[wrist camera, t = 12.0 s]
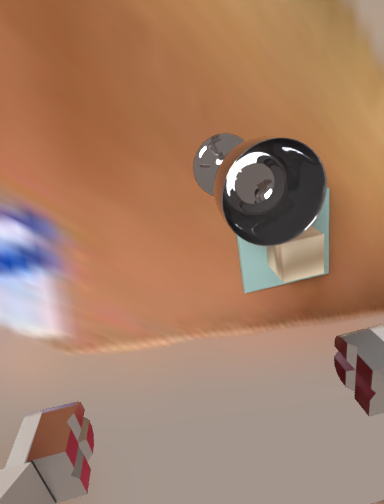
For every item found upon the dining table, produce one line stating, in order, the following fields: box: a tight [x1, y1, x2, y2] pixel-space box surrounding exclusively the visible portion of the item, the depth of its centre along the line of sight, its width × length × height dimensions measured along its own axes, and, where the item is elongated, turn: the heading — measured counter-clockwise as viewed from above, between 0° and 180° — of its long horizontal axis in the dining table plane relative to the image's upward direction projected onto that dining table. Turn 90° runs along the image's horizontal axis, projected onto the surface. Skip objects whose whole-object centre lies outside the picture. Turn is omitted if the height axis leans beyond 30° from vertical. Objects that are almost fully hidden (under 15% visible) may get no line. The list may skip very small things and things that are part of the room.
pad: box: [236, 188, 329, 293], centre depth 41 cm, size 12×12×1 cm
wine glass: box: [193, 133, 327, 246], centre depth 30 cm, size 8×8×15 cm
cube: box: [266, 226, 324, 283], centre depth 39 cm, size 5×5×5 cm
